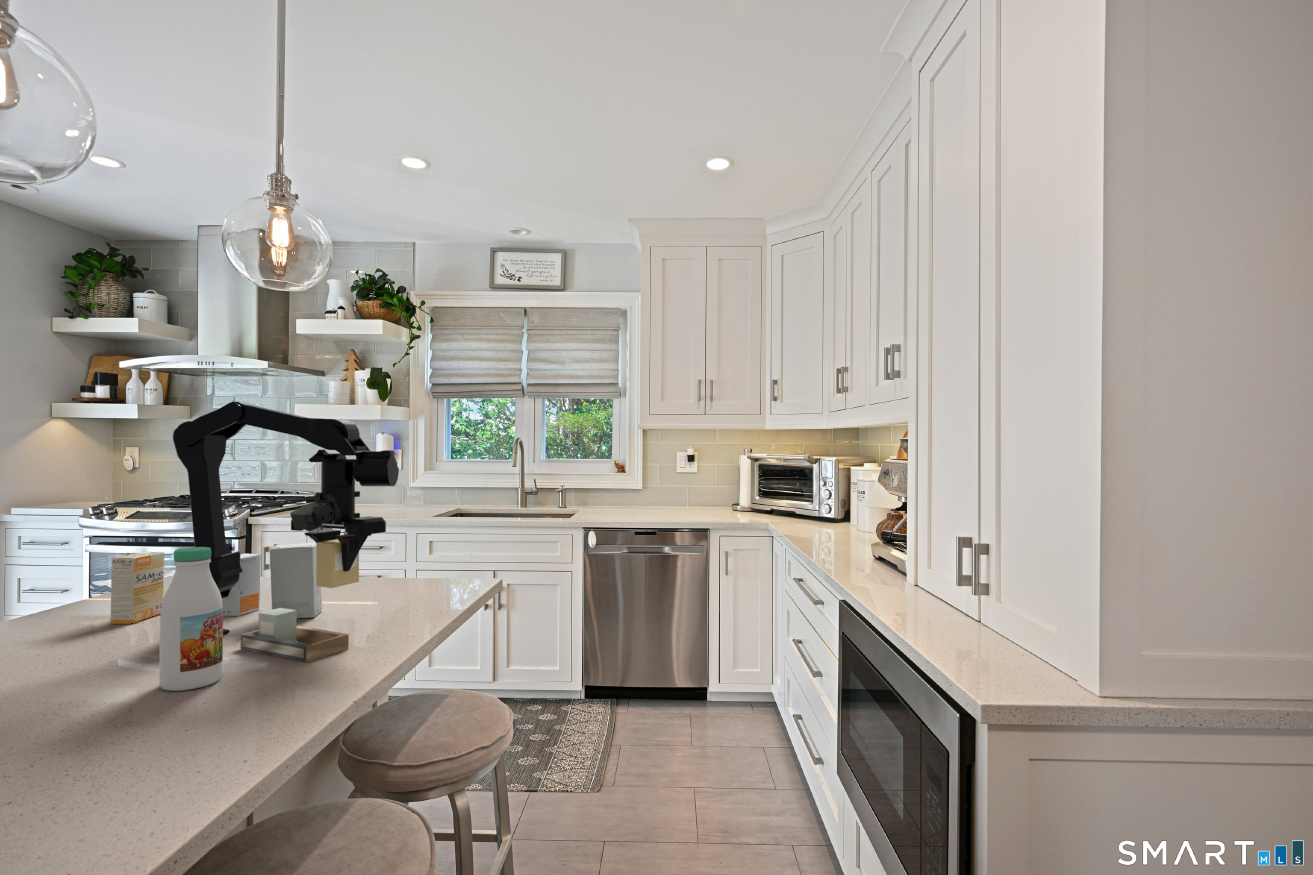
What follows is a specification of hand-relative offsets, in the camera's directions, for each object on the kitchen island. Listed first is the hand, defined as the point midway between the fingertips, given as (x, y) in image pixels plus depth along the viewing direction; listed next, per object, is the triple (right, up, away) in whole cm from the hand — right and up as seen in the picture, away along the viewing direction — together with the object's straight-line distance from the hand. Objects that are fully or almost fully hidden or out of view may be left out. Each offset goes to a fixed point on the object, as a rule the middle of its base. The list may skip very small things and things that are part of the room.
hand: (337, 570), depth 125 cm
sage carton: (-7, -12, -7) cm, 16 cm away
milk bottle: (-10, -12, -25) cm, 29 cm away
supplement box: (-46, -12, +11) cm, 49 cm away
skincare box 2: (-15, -12, +13) cm, 23 cm away
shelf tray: (-3, -12, -8) cm, 15 cm away
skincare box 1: (-28, -12, +16) cm, 34 cm away
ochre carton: (0, -3, 0) cm, 3 cm away
